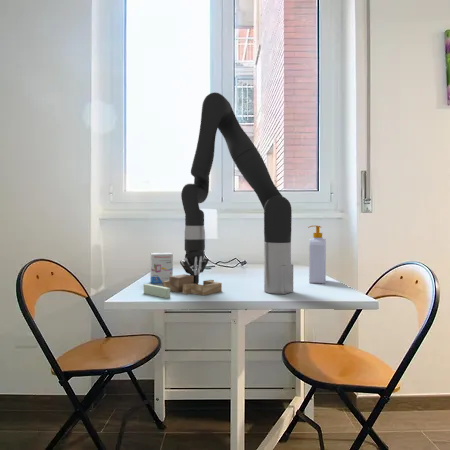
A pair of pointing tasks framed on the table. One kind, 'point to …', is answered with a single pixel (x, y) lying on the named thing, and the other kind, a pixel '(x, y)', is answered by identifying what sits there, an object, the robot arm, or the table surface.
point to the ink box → (161, 267)
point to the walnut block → (179, 282)
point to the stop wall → (157, 290)
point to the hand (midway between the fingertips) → (194, 284)
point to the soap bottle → (317, 258)
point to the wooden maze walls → (200, 287)
